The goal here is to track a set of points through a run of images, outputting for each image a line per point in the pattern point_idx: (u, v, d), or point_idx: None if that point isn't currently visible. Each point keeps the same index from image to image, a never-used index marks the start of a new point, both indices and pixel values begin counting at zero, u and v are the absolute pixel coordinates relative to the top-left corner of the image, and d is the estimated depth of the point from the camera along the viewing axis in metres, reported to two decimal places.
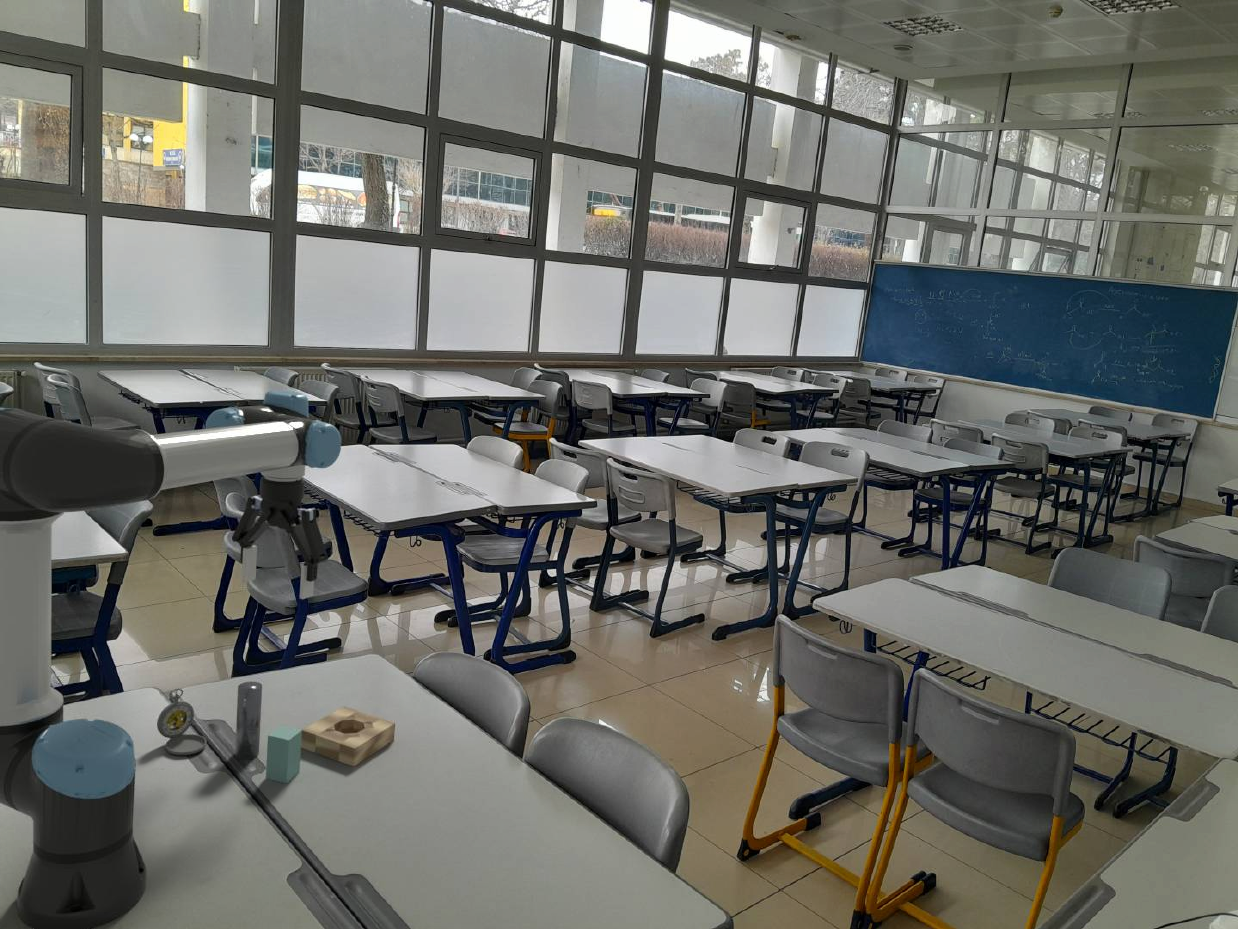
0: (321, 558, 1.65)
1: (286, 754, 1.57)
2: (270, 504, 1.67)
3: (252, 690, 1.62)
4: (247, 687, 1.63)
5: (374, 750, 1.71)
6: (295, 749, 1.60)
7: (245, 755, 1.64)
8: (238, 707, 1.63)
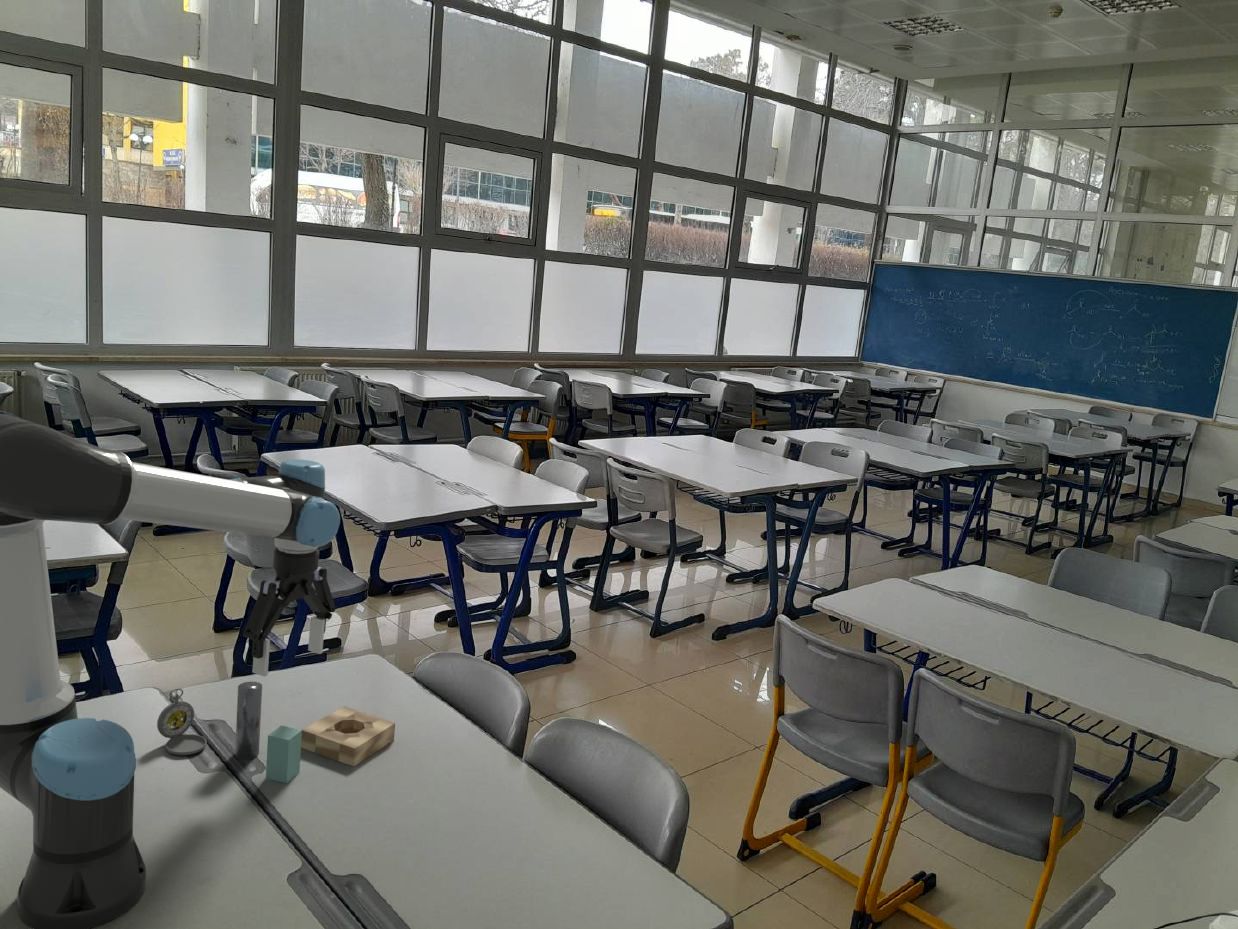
0: (246, 633, 1.55)
1: (286, 754, 1.57)
2: None
3: (252, 690, 1.62)
4: (247, 687, 1.63)
5: (374, 750, 1.71)
6: (295, 749, 1.60)
7: (245, 755, 1.64)
8: (238, 707, 1.63)
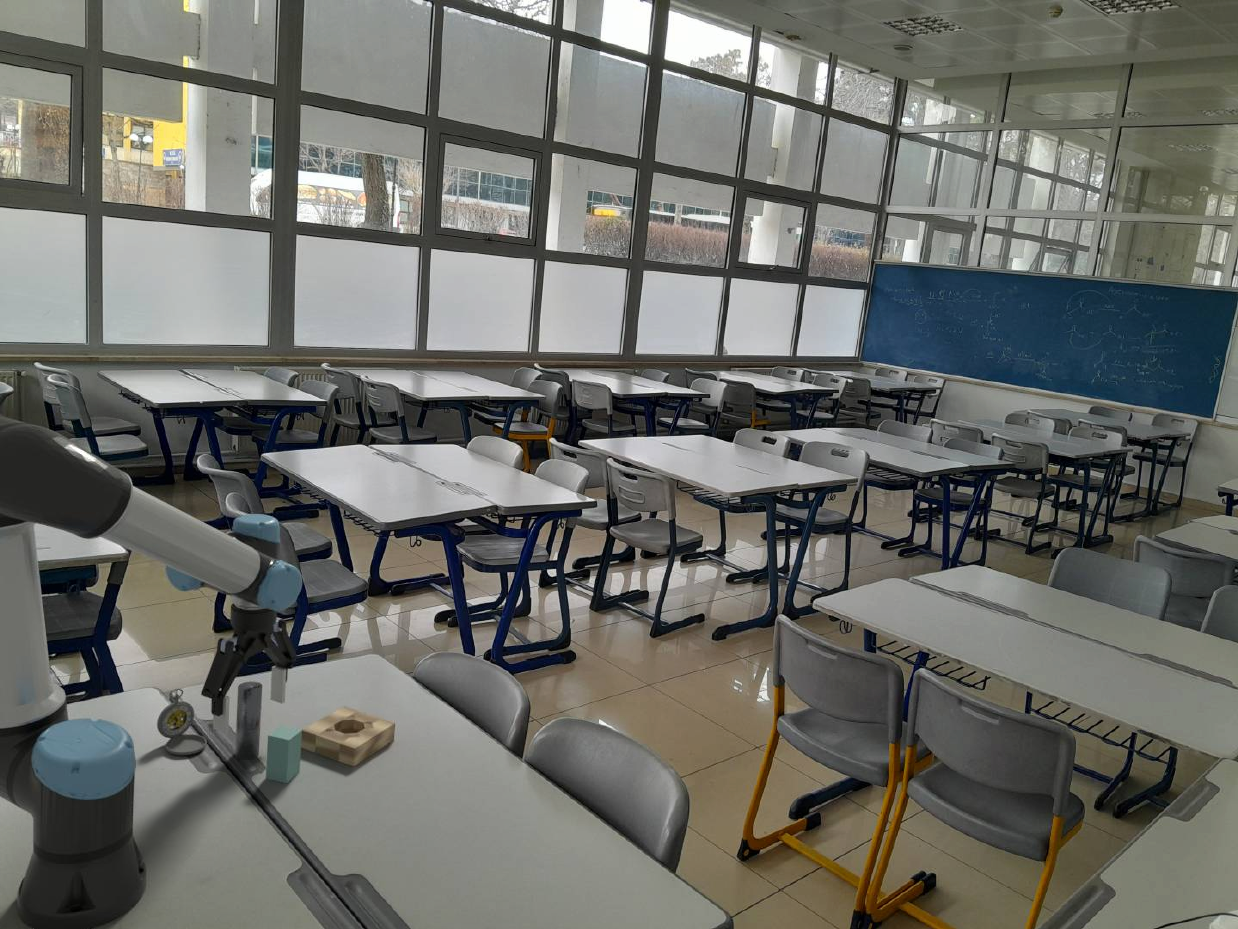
0: (205, 692, 1.54)
1: (286, 754, 1.57)
2: None
3: (252, 690, 1.62)
4: (247, 687, 1.63)
5: (374, 750, 1.71)
6: (295, 749, 1.60)
7: (245, 755, 1.64)
8: (238, 707, 1.63)
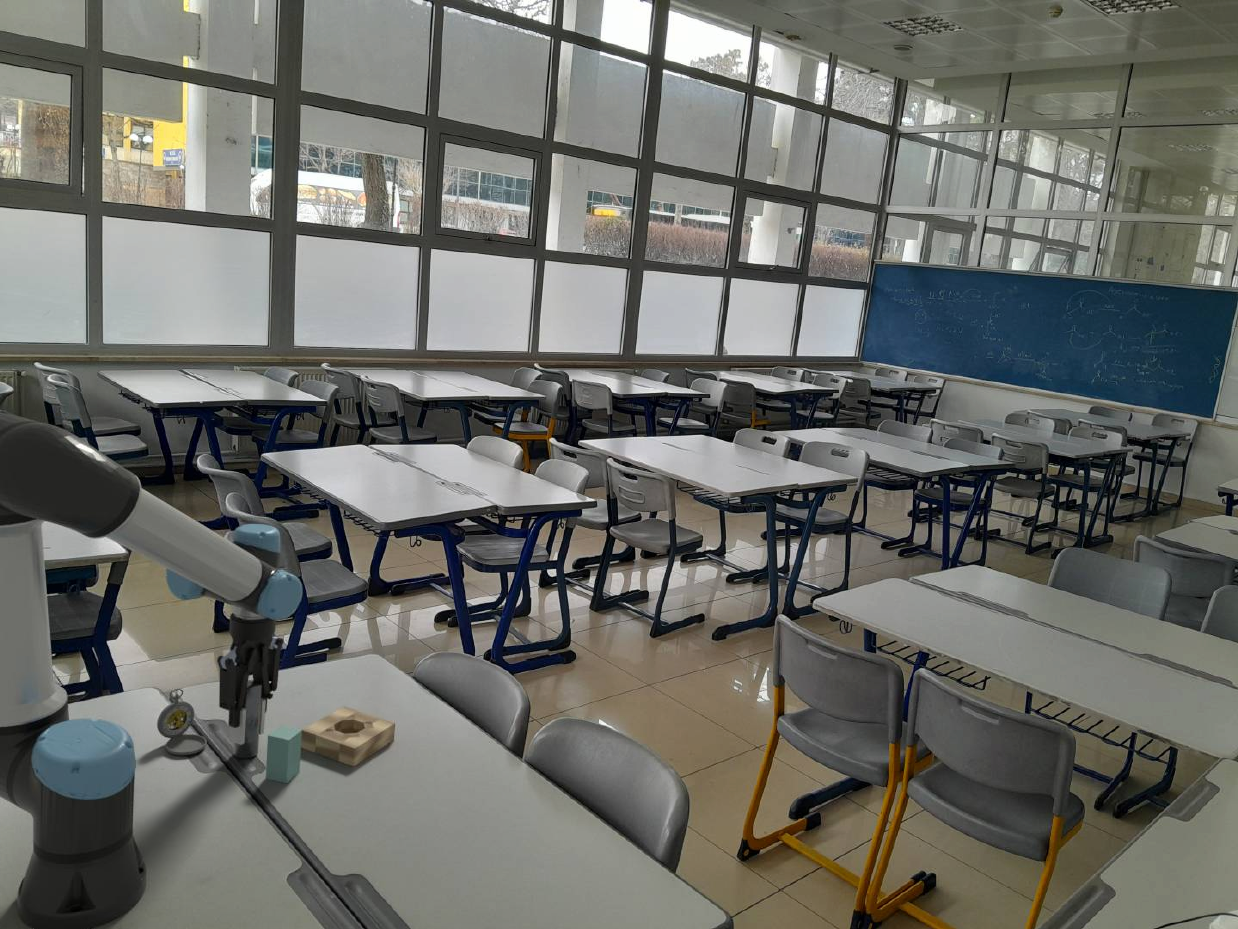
0: (222, 706, 1.59)
1: (286, 754, 1.57)
2: None
3: (252, 689, 1.62)
4: None
5: (374, 750, 1.71)
6: (295, 749, 1.60)
7: (244, 754, 1.64)
8: None
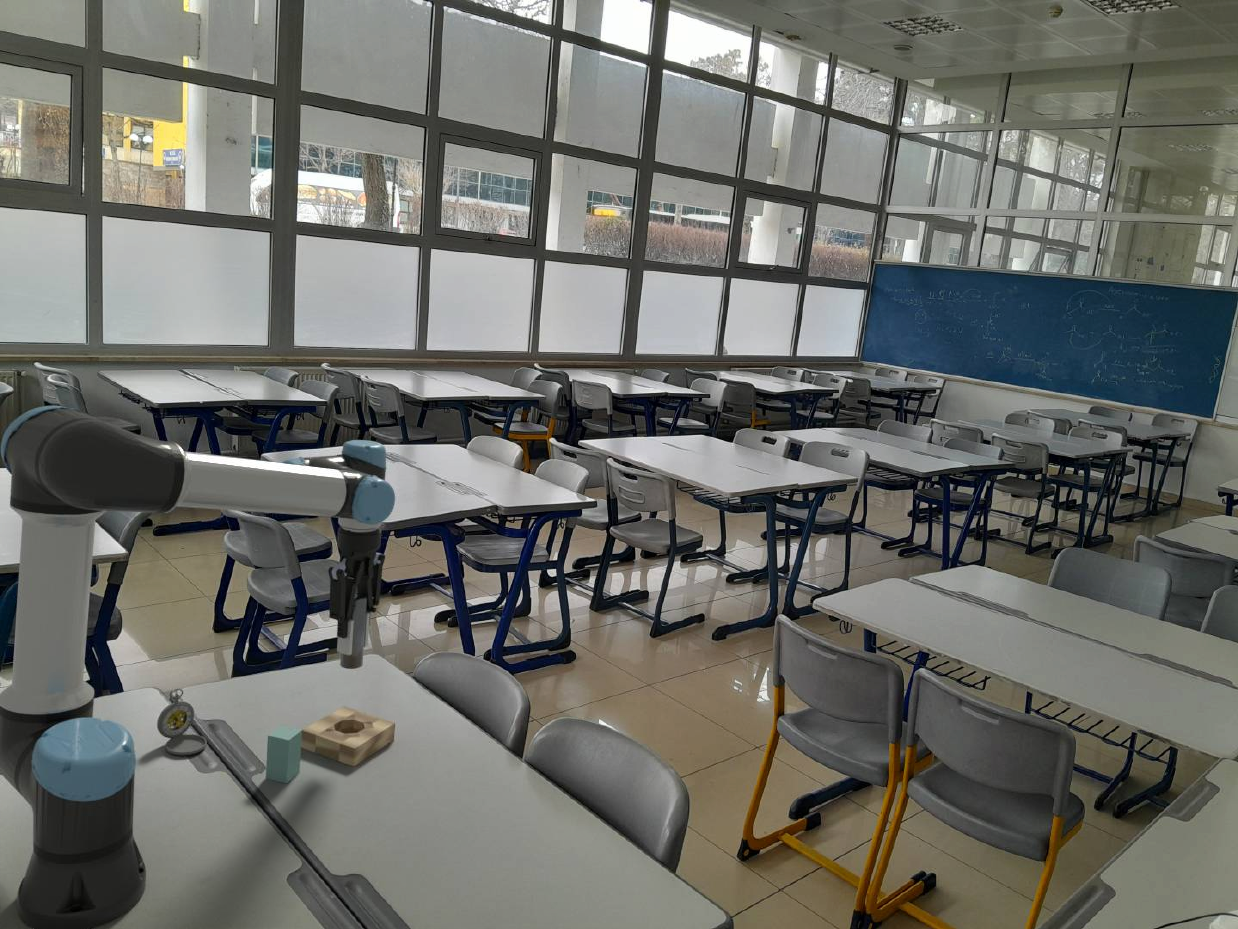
0: (332, 616, 1.64)
1: (286, 754, 1.57)
2: None
3: (358, 601, 1.67)
4: None
5: (374, 750, 1.71)
6: (295, 749, 1.60)
7: (351, 664, 1.69)
8: None
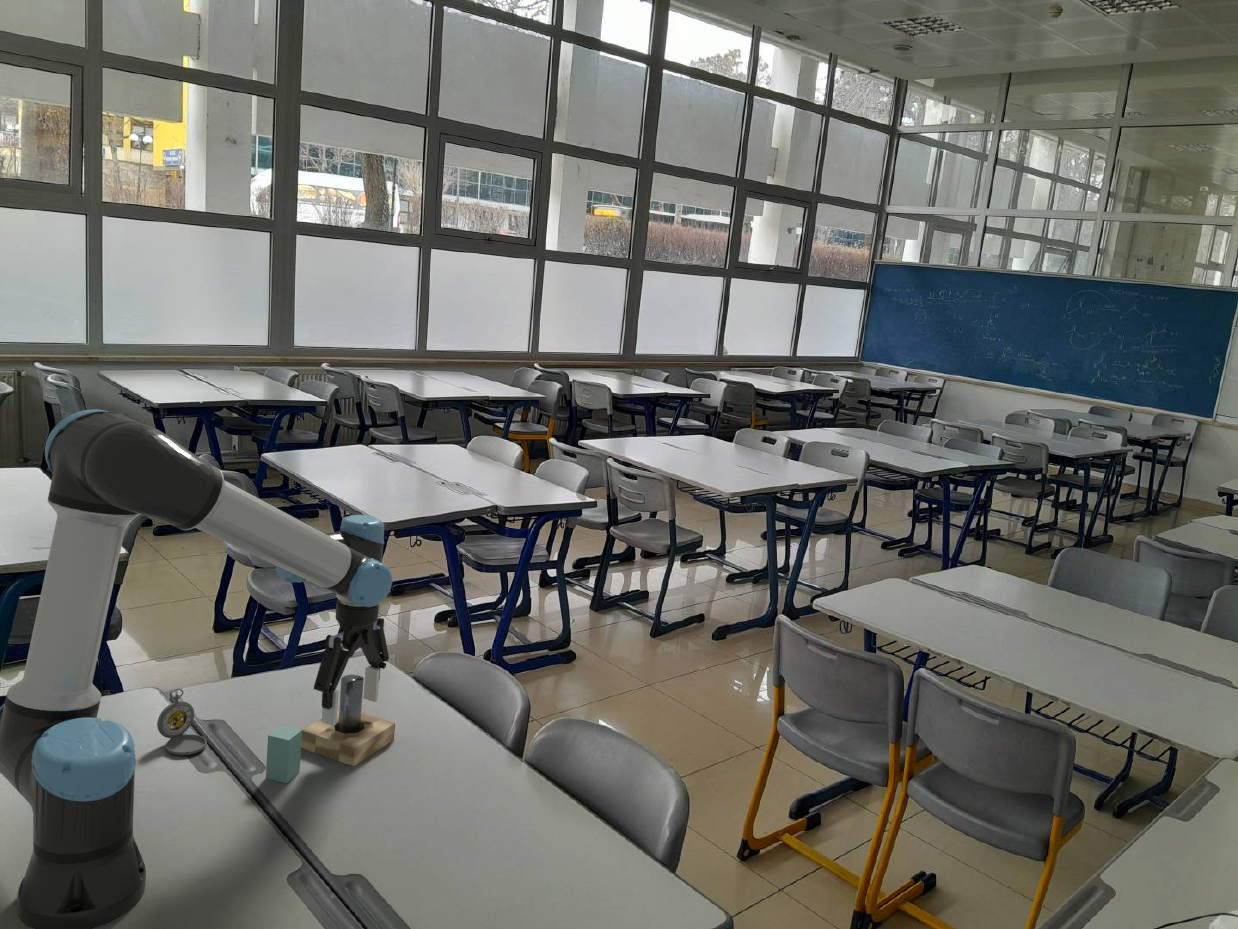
0: (317, 687, 1.63)
1: (286, 754, 1.57)
2: None
3: (355, 683, 1.70)
4: (350, 680, 1.71)
5: (374, 750, 1.71)
6: (295, 749, 1.60)
7: None
8: (341, 699, 1.71)
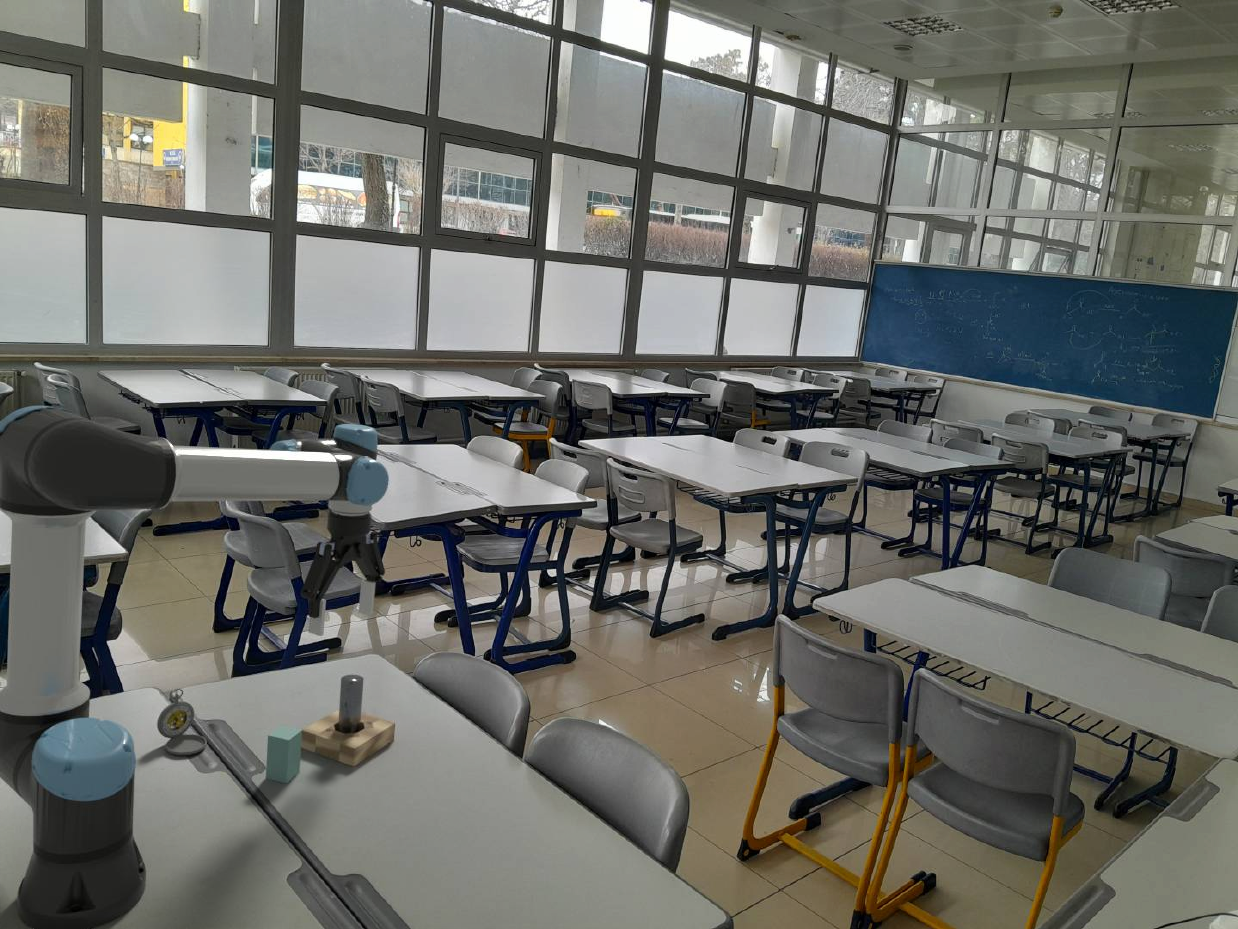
0: (304, 593, 1.58)
1: (286, 754, 1.57)
2: None
3: (355, 683, 1.70)
4: (349, 680, 1.71)
5: (374, 750, 1.71)
6: (295, 749, 1.60)
7: None
8: (341, 699, 1.70)
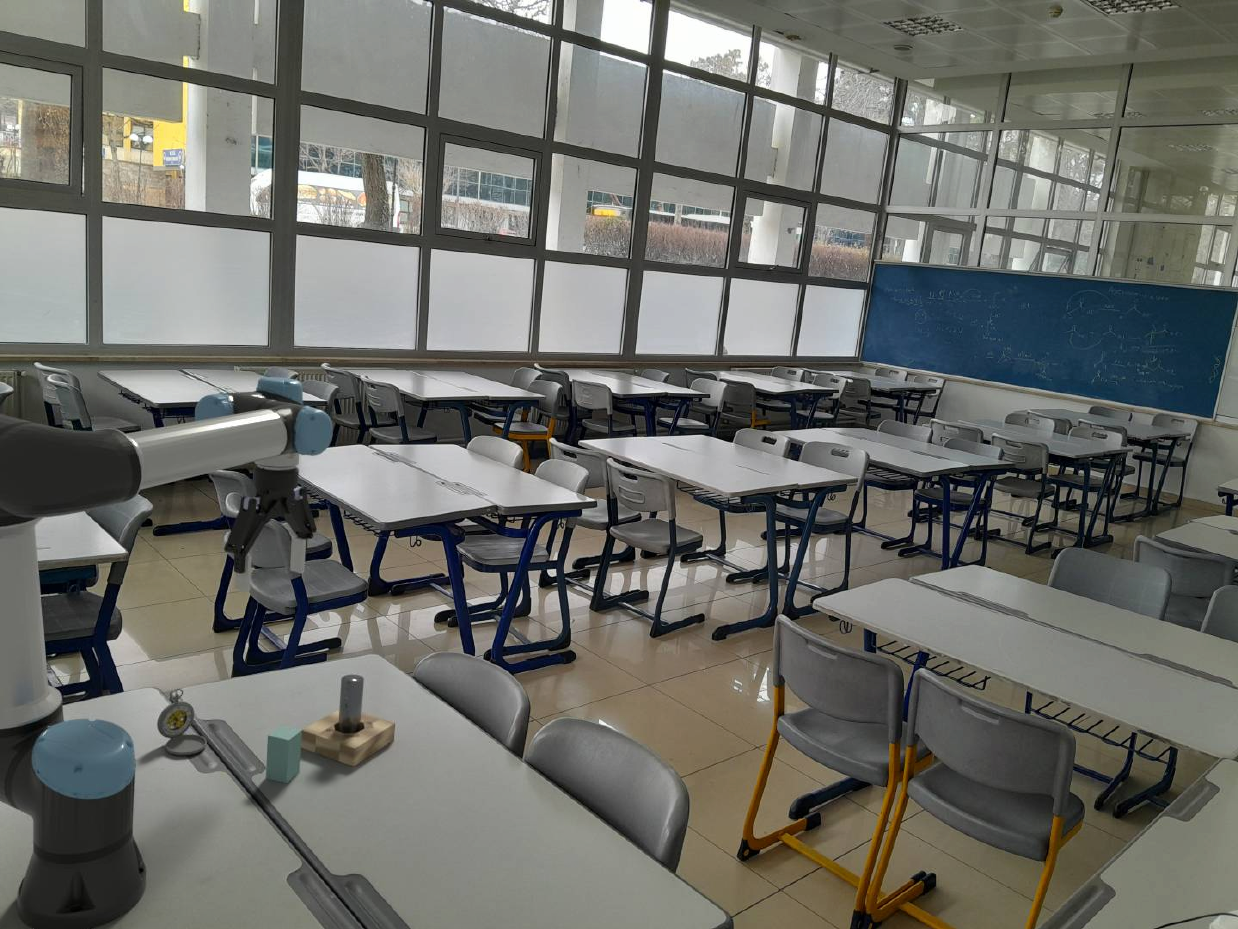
0: (228, 548, 1.56)
1: (286, 754, 1.57)
2: None
3: (355, 683, 1.70)
4: (350, 680, 1.71)
5: (374, 750, 1.71)
6: (295, 749, 1.60)
7: None
8: (341, 699, 1.71)
